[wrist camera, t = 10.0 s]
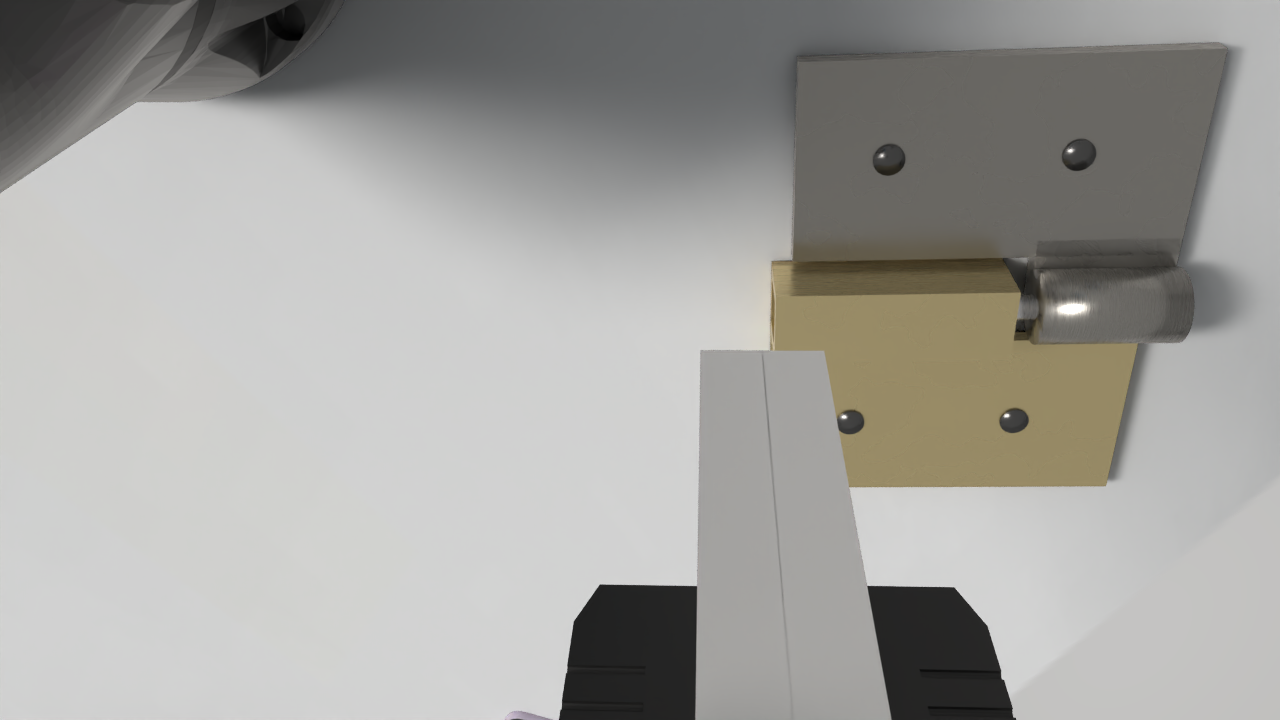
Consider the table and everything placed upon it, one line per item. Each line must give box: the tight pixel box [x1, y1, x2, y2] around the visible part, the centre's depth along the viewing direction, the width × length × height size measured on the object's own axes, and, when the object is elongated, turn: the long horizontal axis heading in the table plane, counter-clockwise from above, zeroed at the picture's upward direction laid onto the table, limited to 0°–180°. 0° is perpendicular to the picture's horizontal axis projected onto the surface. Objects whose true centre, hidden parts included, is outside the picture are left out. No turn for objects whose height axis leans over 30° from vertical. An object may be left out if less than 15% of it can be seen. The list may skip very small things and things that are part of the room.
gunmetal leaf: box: [791, 42, 1228, 345], centre depth 40 cm, size 15×11×3 cm
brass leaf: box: [770, 258, 1138, 487], centre depth 44 cm, size 15×11×3 cm
